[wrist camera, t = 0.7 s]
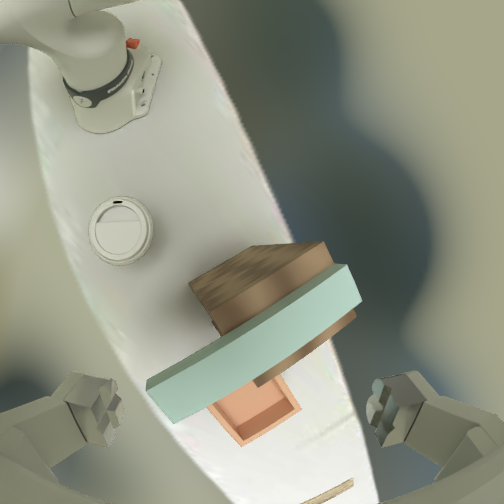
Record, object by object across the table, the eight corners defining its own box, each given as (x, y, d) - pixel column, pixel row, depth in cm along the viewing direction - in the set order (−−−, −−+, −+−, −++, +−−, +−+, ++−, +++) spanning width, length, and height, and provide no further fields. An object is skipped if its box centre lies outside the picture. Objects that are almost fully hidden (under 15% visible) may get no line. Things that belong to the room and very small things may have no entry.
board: (172, 411, 25) (173, 424, 23) (146, 379, 24) (145, 391, 22) (348, 297, 31) (361, 300, 28) (333, 263, 30) (347, 264, 28)
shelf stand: (215, 327, 52) (257, 388, 28) (188, 283, 51) (209, 312, 26) (275, 290, 56) (356, 316, 31) (252, 246, 55) (323, 241, 30)
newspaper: (350, 476, 65) (353, 479, 64) (351, 486, 66) (353, 489, 64) (285, 508, 59) (288, 511, 57) (289, 516, 59) (291, 519, 57)
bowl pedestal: (190, 362, 51) (200, 400, 36) (242, 331, 54) (270, 358, 39) (221, 404, 53) (241, 447, 38) (269, 375, 56) (302, 409, 41)
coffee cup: (164, 220, 50) (163, 207, 35) (146, 269, 49) (138, 276, 34) (117, 202, 47) (100, 183, 33) (100, 251, 46) (75, 251, 32)
